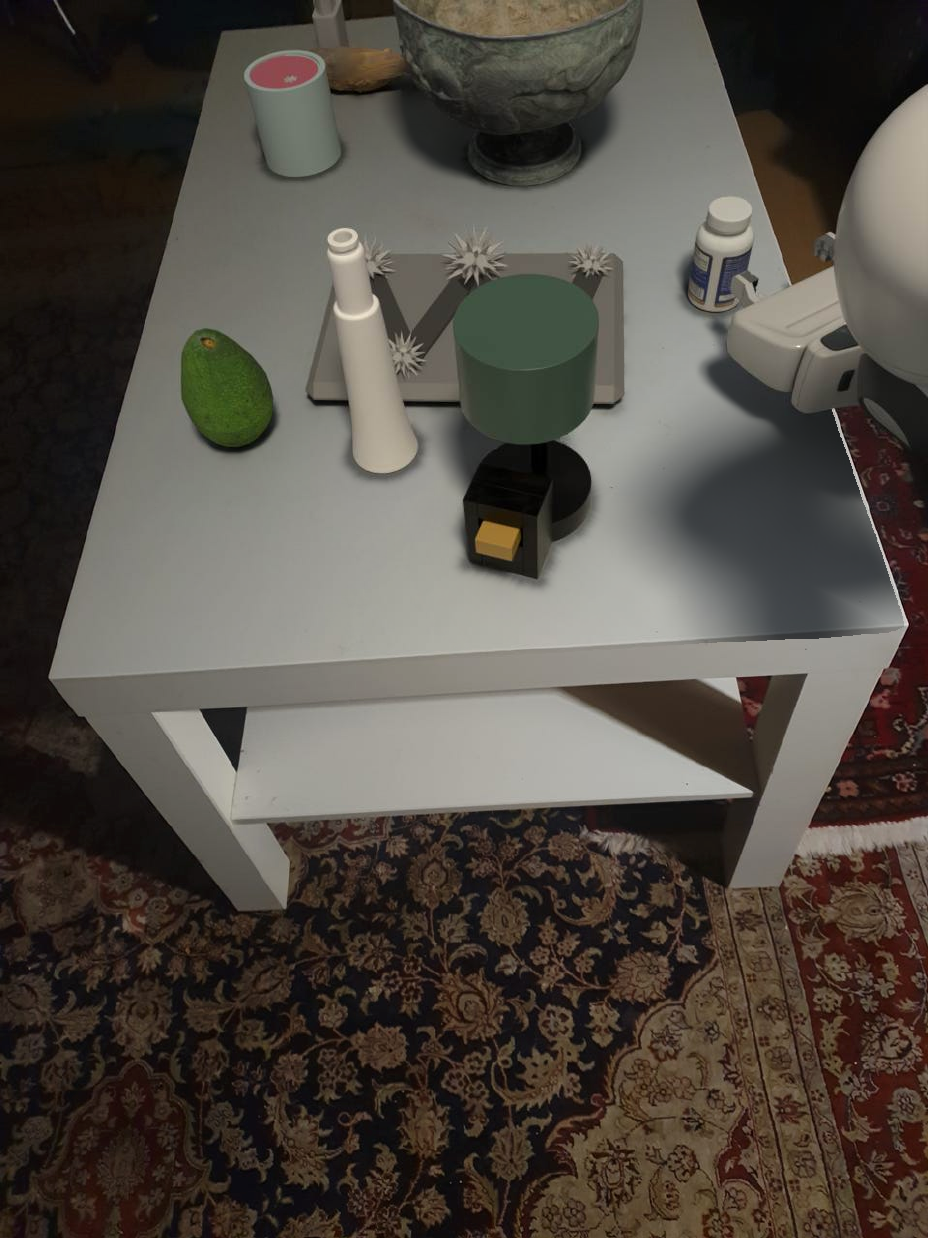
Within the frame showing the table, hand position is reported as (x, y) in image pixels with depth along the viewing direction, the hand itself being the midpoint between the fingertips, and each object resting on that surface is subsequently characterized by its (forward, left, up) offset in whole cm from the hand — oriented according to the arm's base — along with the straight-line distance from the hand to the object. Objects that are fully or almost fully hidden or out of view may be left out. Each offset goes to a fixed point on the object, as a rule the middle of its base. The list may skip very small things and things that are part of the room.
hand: (779, 260), depth 83 cm
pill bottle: (+4, -5, -8) cm, 11 cm away
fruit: (+48, +17, -8) cm, 52 cm away
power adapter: (+53, -51, -8) cm, 74 cm away
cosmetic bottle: (+34, +18, -8) cm, 40 cm away
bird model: (+47, -45, -8) cm, 66 cm away
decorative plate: (+28, +2, -8) cm, 30 cm away
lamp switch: (+22, +31, -4) cm, 39 cm away
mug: (+53, -32, -8) cm, 63 cm away
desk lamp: (+21, +24, -8) cm, 33 cm away
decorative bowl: (+26, -30, -8) cm, 41 cm away
